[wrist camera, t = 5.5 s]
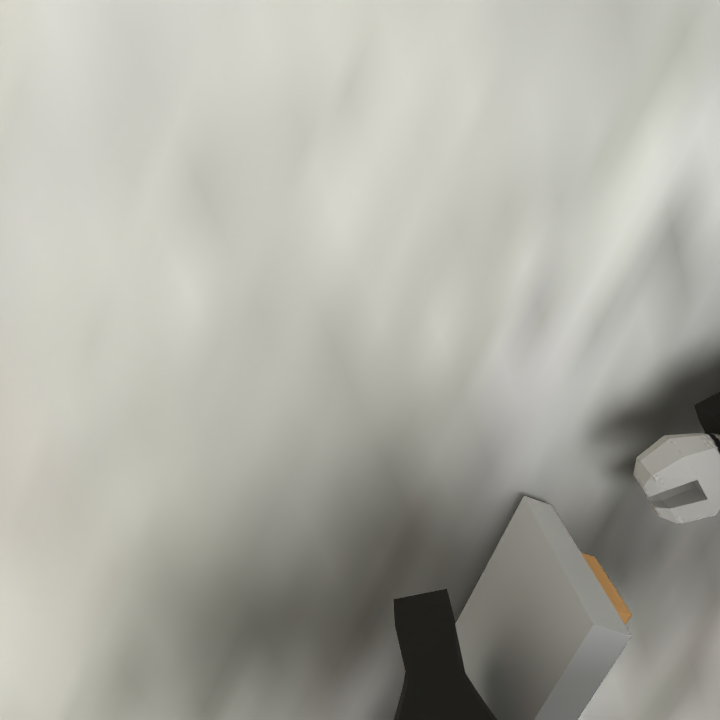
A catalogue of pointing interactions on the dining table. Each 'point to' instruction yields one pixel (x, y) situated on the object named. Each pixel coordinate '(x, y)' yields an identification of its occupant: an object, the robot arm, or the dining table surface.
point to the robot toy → (684, 469)
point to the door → (540, 622)
